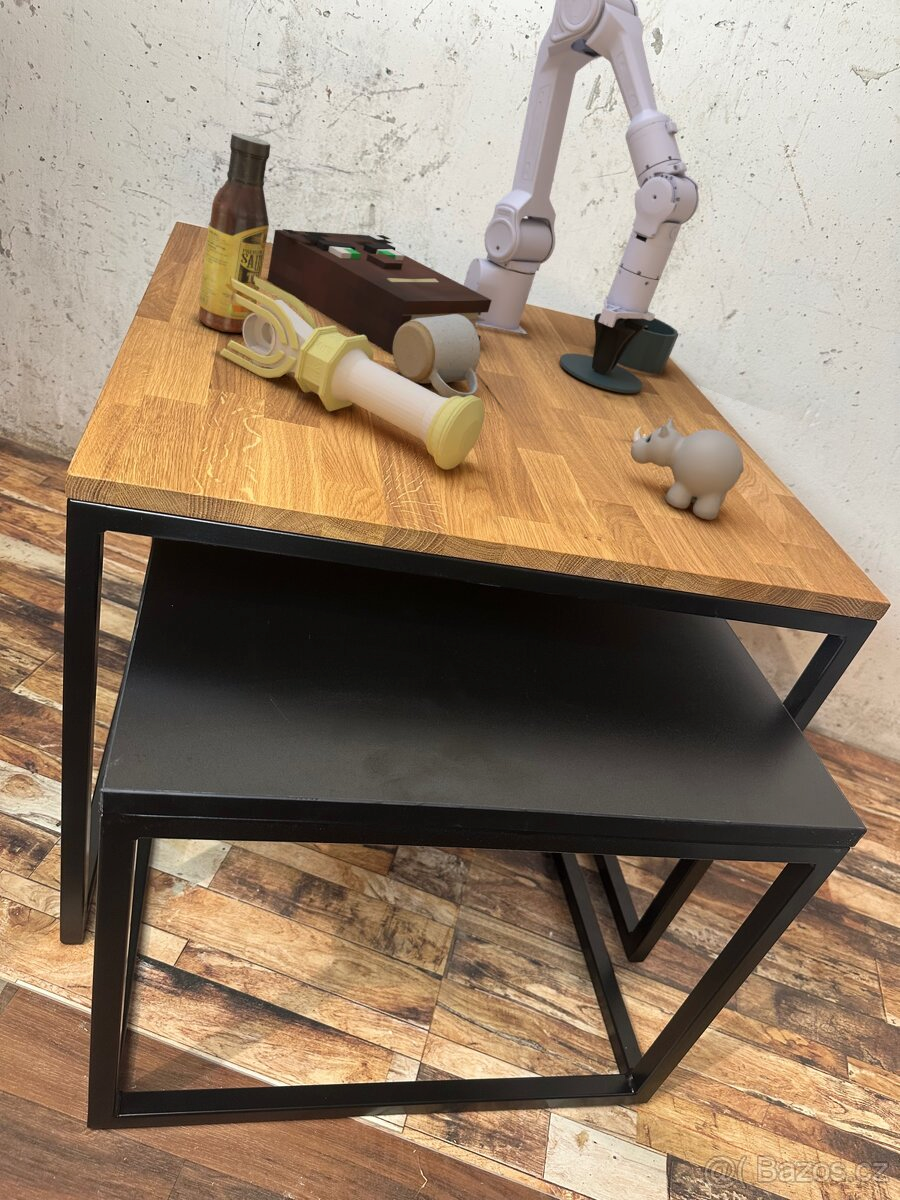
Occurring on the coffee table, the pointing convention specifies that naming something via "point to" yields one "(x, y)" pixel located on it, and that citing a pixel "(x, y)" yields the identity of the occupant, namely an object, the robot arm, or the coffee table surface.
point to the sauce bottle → (235, 236)
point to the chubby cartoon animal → (693, 465)
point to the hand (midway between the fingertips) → (602, 368)
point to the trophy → (350, 374)
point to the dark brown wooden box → (366, 283)
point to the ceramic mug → (438, 352)
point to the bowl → (650, 347)
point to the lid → (600, 374)
